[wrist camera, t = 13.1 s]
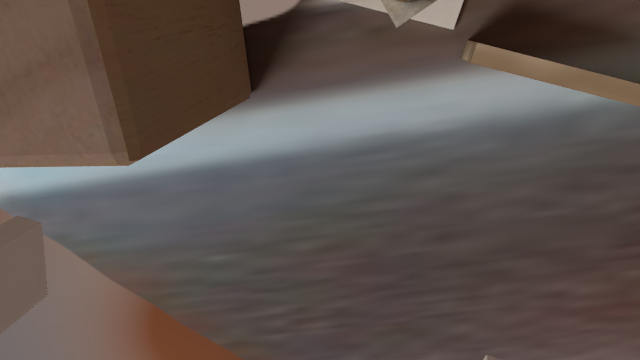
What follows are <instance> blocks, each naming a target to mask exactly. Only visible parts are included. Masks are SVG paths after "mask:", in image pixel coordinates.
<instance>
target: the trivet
mask: <svg viewBox="0 0 640 360" xmlns="http://www.w3.org/2000/svg"><path fill="white" fill-rule="evenodd" d="M338 1H342V2H346V3H349V4H353V5H357V6H361V7H365V8H369V9H373V10H377V11H381V12H385V13H388V12H387V10H386V9H385V7H384V5H383V3H382V2H381V0H338ZM463 1H464V0H437V1H435V2H434V3H432V4H431V5H429V6H428V7H426V8H425V9H423V10H422V11H420V12H419V13H418V14H416V15H415V16H413V17H412V18H410V19H412V20H416V21H420V22H424V23H428V24H432V25H436V26H440V27H444V28H448V29H452V30H453V29H454V27H455V24H456V21H457V18H458V15H459V12H460V9H461V7H462V4H463Z"/></svg>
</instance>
